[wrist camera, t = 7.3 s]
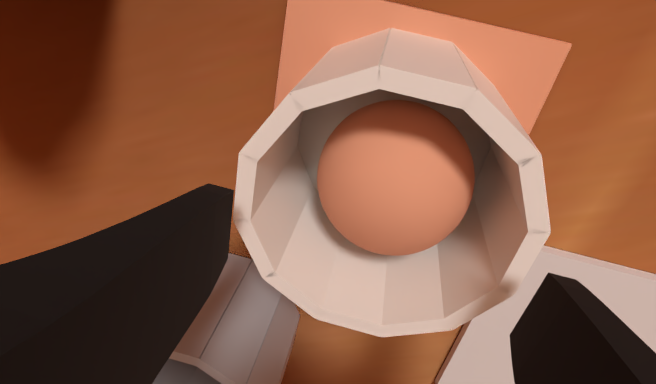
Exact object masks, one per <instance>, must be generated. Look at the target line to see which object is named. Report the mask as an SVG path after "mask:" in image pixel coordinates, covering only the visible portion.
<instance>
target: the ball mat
mask: <svg viewBox="0 0 656 384" xmlns="http://www.w3.org/2000/svg"><path fill="white" fill-rule="evenodd" d="M548 272H549V273H553V274H556V275H560V276H564V277H568V278H572V279H576V280H577V281H579V282H580V283H581V284H582V285H584V286H585V287H586V288H587V289H588V290H589V291H591V292H592V293H593V294H594V295H595V296H596V297H597V298H598V299H599V300H601V301H602V302H603V303H604V304H605V305H606V306H607V307H608V308H609V309H610V310H611V311H612V312H613V313H614V314H615V315H617V316H618V317H619V318H620V319H621V320H622V321H623V322H624V323H625V324H626V325H627V326H628V327H629V328H630V329H631V330H632V331H633V332H634V333H635V334H636V335H637V336H638V337H639V338H640V339H642V340H643V341H644V342H645V343H646V344H647V345H648V346H649V347H650V348H651V349H652V350H653V351H654V352H655V353H656V274H652V273H649V272H645V271H641V270H637V269H633V268H629V267H625V266H621V265H617V264H614V263H610V262H606V261H602V260H598V259H594V258H590V257H586V256H583V255H579V254H575V253H571V252H567V251H563V250H559V249H555V248H552V247H548V246H544V245H543V247H542V249H541V250H540V252H539V254H538V256H537V257H536V259H535V261H534V262H533V264H532V266H531V267H530V269H529V271H528V273H527V274H526V276H525V278H524V279H523V281H522V283H521V285H520V286H519V288H518V290H517V291H516V293H515V294H513V295H514V296H512V297H510V298H508V299H507V300H505V301H503V302H501V303H500V304H498V305H496V306H494V307H493V308H491V309H489V310H487V311H485V312H484V313H482V314H480V315H478V316H477V317H475V318H473V319H471V320H470V321H468V322H466V323H465V324H464V326H463V327H462V329H461V331H460V333H459V335H458V337H457V339H456V341H455V343H454V345H453V347H452V348H451V350H450V352H449V354H448V356H447V358H446V360H445V362H444V364H443V366H442V368H441V369H440V371H439V373H438V375H437V377H436V379H435V384H515V382H514V376H513V368H512V359H511V347H510V333H511V332H512V330H513V329H514V327H515V325H516V324H517V322H518V321H519V319H520V317H521V316H522V314H523V312H524V311H525V309H526V308H527V306H528V304H529V303H530V301H531V300H532V298H533V296H534V295H535V293H536V291H537V290H538V288H539V287H540V285H541V283H542V282H543V280H544V279H545V277H546V275H547V274H548Z"/></svg>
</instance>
